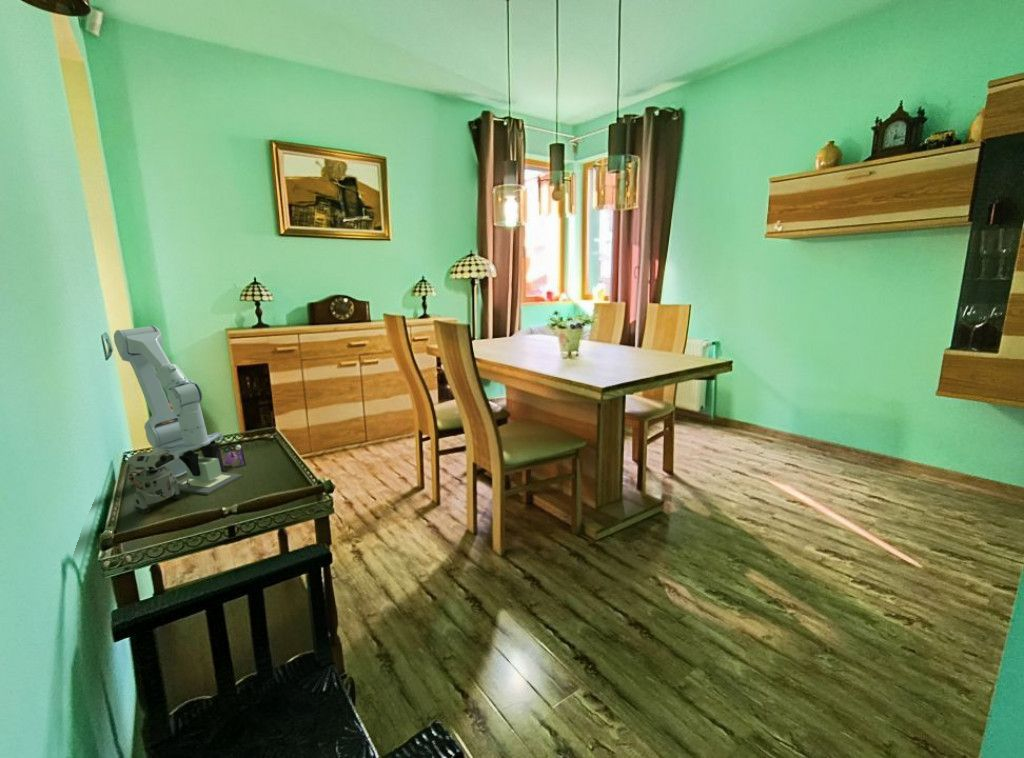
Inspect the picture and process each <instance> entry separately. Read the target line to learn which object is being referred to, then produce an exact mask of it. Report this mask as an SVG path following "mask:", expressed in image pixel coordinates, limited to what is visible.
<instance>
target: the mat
mask: <svg viewBox="0 0 1024 758" xmlns="http://www.w3.org/2000/svg"><path fill="white" fill-rule="evenodd" d="M221 472H222V475H220V476H218V477H217V478H215V479H213V480H211V481H205V480H196V479H189V478H188V476H186V477H184V478H183V479H180V480H179V481H181V483H183V484H186V483H187V480H189V481H190V482H189V481H188V484H189V483H190V485H188V488H186V489H184V488H182V487H180V486H177V487H178V489H179V492H184V493H190V494H191V493H192V494H199V495H200V494H201V495H206V496H207V495H210V494H213V493H215V492H217V491H219V490H220V489H223V488H225V487H226V486H227V485H229V484H231V483H233V482H234V481H235V482H236V481H237V480H239V479H241V478H242V477H244V475H243V474H239V473H230V472H223V471H221ZM176 484H177V483H176Z"/></svg>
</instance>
